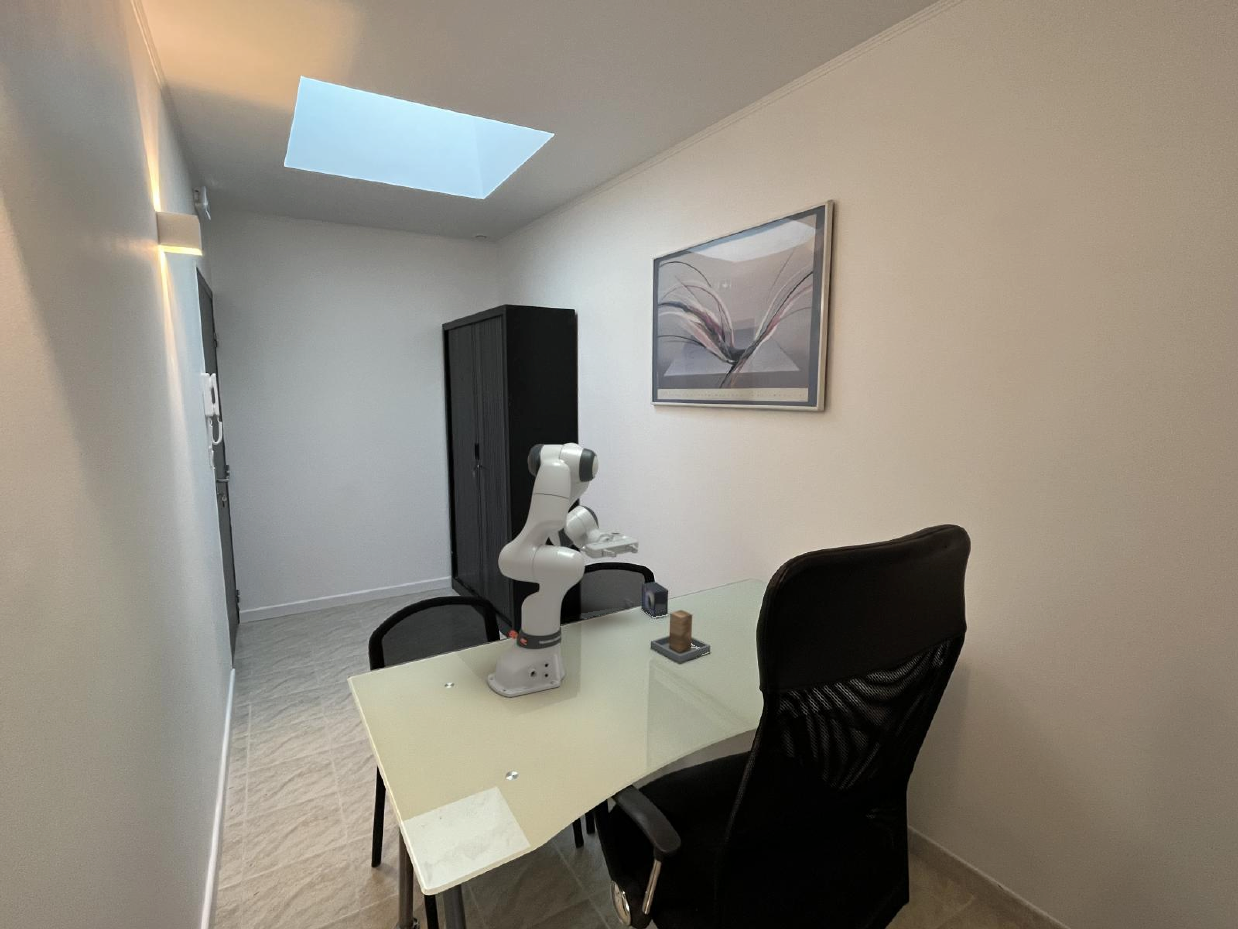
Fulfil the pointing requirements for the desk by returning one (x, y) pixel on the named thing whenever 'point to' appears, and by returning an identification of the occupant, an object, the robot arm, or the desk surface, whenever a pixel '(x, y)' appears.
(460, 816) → the desk surface
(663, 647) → the tray
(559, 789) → the desk surface
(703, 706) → the desk surface
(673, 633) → the walnut block
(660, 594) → the small box
